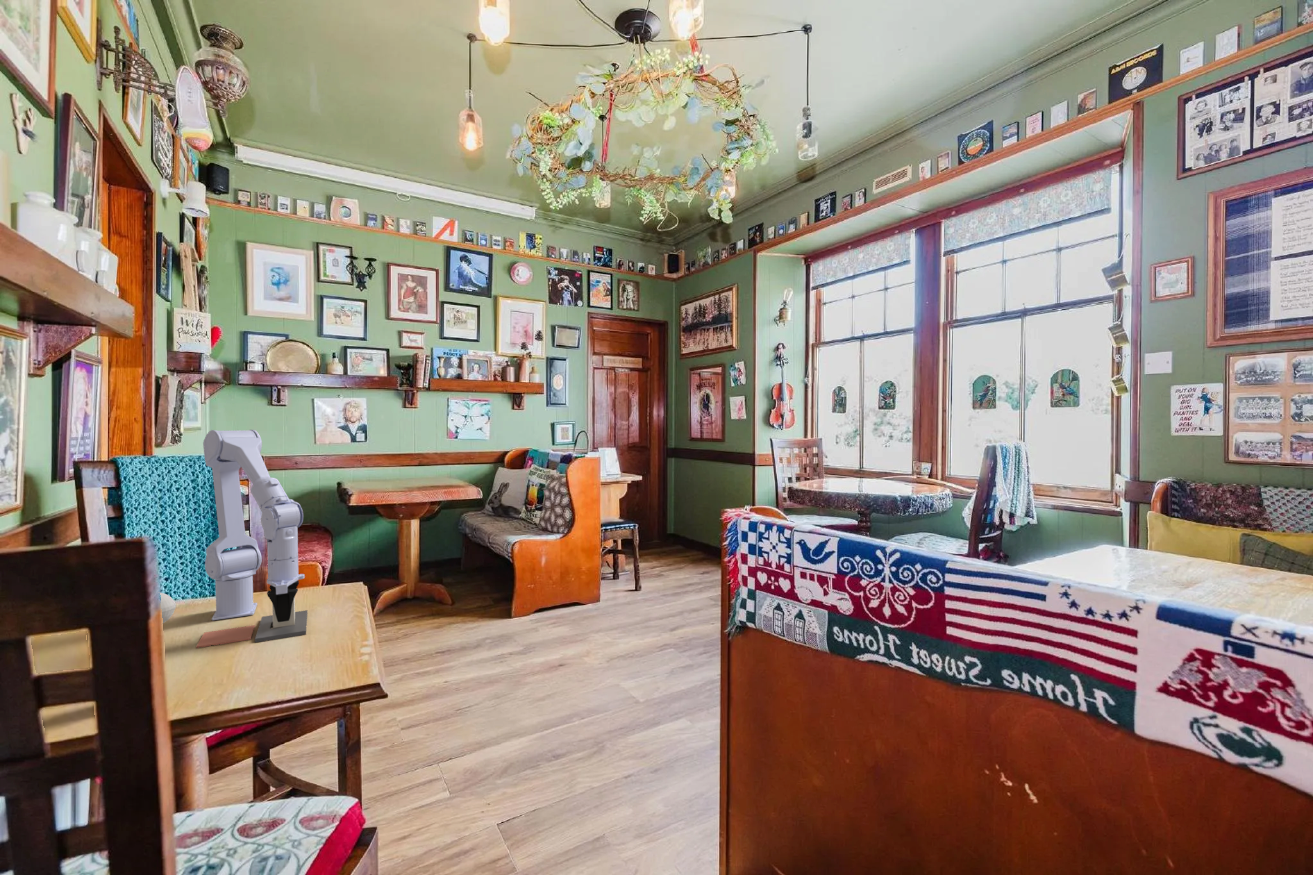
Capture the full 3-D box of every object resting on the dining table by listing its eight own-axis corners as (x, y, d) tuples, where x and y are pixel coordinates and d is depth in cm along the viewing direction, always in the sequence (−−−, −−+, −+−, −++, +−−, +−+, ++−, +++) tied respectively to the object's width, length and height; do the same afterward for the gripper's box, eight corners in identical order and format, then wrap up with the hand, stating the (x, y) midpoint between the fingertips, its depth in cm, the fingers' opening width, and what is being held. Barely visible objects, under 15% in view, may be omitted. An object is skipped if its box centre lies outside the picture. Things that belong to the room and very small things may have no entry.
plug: (274, 624, 129) (273, 598, 129) (295, 621, 131) (294, 595, 131) (272, 630, 126) (272, 602, 125) (294, 626, 128) (294, 600, 128)
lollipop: (126, 686, 99) (124, 600, 99) (138, 673, 105) (136, 591, 104) (172, 678, 102) (170, 595, 102) (181, 666, 107) (179, 586, 107)
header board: (262, 620, 133) (261, 616, 133) (307, 613, 137) (307, 610, 137) (255, 642, 119) (255, 638, 119) (305, 634, 124) (305, 630, 124)
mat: (204, 634, 124) (204, 632, 124) (254, 626, 128) (254, 624, 128) (196, 648, 116) (196, 646, 116) (250, 639, 121) (250, 637, 121)
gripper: (303, 562, 124) (304, 624, 124) (304, 549, 136) (305, 606, 137) (263, 566, 120) (265, 630, 121) (269, 553, 133) (270, 611, 133)
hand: (284, 618), depth 128 cm, fingers closed on plug, 4 cm apart
